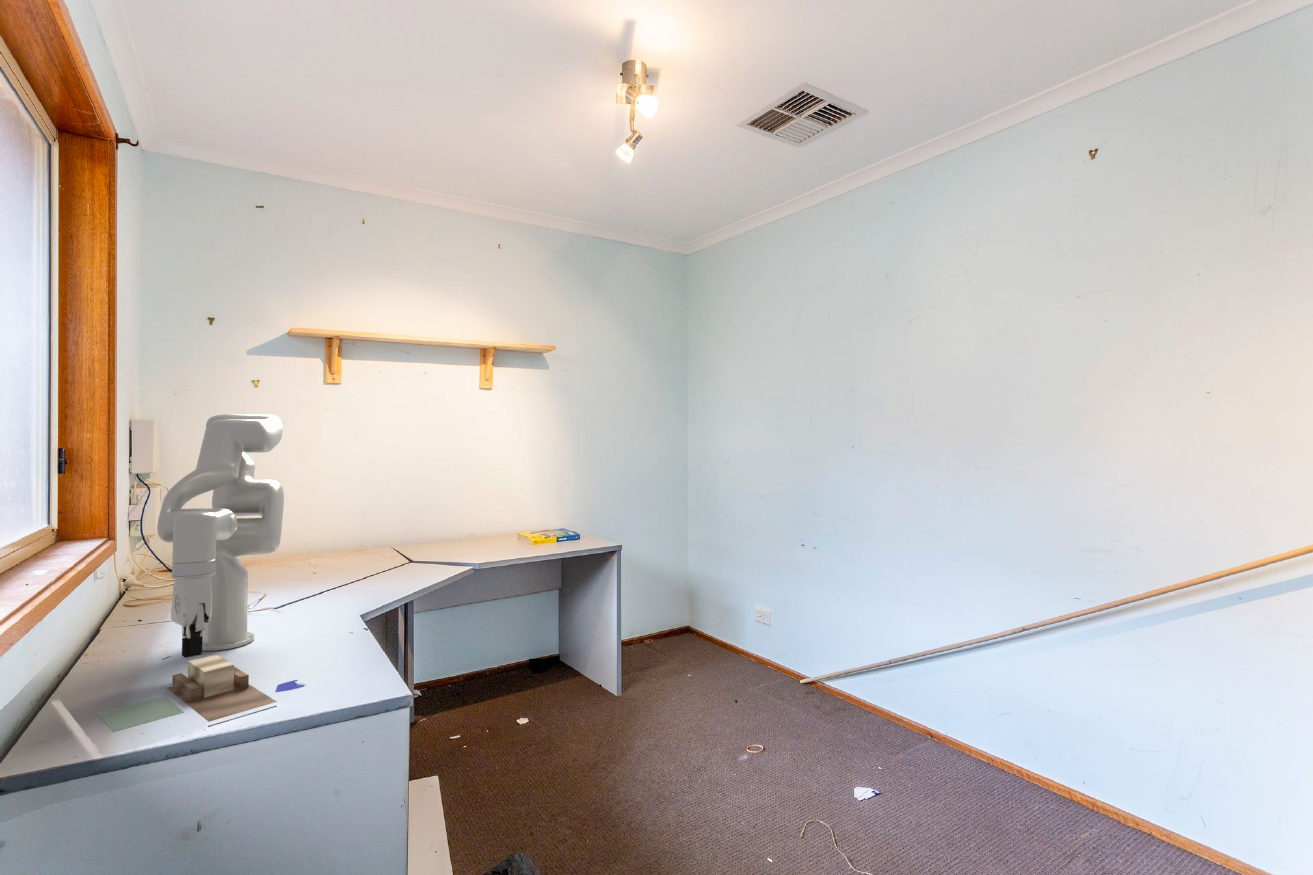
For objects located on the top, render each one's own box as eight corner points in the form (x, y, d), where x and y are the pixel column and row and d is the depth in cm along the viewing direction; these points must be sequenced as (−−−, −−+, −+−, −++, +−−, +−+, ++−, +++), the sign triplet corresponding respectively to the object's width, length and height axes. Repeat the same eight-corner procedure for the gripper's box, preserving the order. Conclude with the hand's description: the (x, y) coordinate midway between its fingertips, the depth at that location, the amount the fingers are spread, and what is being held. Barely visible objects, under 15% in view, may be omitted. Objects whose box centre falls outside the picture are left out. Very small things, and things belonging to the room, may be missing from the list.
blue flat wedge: (319, 685, 126) (320, 666, 137) (272, 692, 123) (277, 672, 134) (318, 693, 126) (320, 673, 137) (272, 700, 123) (277, 679, 134)
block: (187, 685, 126) (188, 660, 126) (216, 678, 130) (216, 654, 130) (204, 697, 120) (204, 671, 120) (233, 689, 124) (234, 664, 124)
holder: (166, 692, 125) (166, 675, 125) (229, 676, 134) (229, 660, 134) (208, 726, 110) (209, 707, 110) (276, 706, 119) (276, 688, 119)
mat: (96, 718, 113) (97, 713, 113) (164, 700, 121) (164, 695, 121) (113, 737, 106) (113, 731, 106) (184, 717, 114) (184, 712, 114)
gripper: (162, 568, 134) (159, 653, 133) (184, 575, 125) (181, 667, 124) (203, 563, 140) (201, 645, 139) (227, 570, 131) (225, 657, 130)
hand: (191, 655), depth 131 cm, fingers closed
